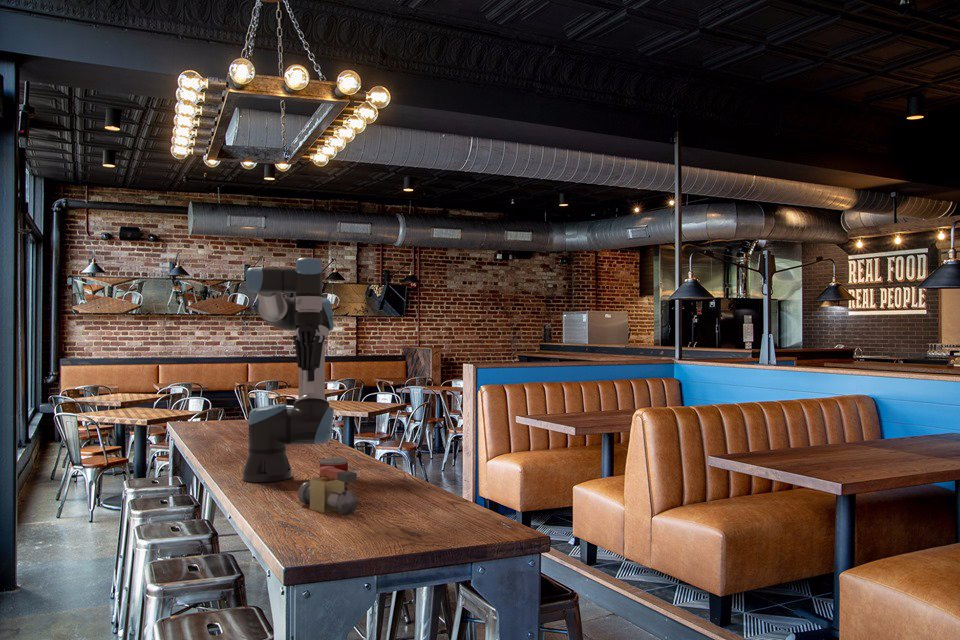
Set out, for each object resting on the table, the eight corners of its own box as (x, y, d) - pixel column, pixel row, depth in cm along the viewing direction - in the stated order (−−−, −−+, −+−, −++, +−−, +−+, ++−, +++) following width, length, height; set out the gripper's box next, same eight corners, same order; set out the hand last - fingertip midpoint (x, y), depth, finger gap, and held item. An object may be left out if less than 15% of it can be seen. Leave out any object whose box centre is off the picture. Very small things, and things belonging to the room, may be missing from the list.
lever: (316, 474, 197) (316, 467, 197) (330, 473, 199) (330, 465, 200) (344, 482, 186) (344, 474, 186) (358, 480, 189) (358, 473, 189)
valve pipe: (297, 505, 200) (297, 473, 201) (316, 501, 205) (317, 470, 205) (338, 517, 188) (338, 482, 188) (358, 512, 193) (358, 479, 193)
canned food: (334, 504, 202) (335, 463, 203) (313, 500, 207) (313, 460, 207) (353, 498, 209) (353, 459, 209) (332, 495, 213) (332, 457, 213)
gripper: (285, 311, 217) (284, 392, 217) (310, 310, 208) (310, 394, 208) (306, 312, 223) (306, 390, 222) (332, 311, 214) (332, 393, 213)
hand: (308, 392), depth 215 cm, fingers closed
